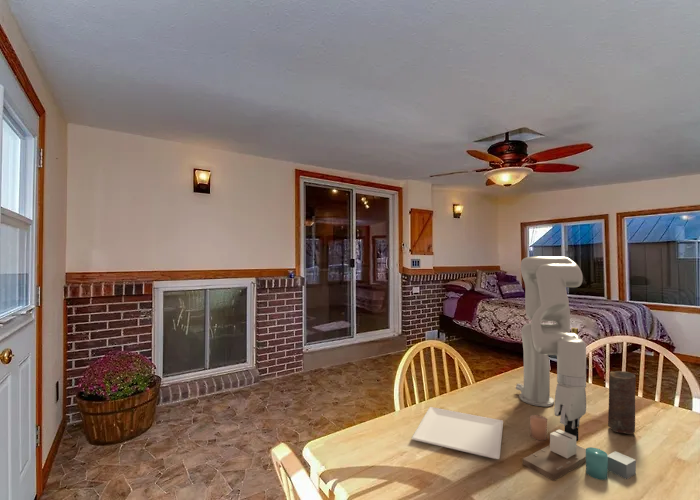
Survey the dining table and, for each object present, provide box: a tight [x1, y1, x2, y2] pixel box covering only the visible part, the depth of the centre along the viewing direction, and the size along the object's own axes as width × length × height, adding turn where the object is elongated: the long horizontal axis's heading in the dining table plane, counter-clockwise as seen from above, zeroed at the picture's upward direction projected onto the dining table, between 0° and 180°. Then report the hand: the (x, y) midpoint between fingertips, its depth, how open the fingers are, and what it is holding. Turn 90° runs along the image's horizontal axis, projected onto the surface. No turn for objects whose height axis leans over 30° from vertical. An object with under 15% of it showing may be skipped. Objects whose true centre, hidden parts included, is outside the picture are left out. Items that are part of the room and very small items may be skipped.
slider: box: [549, 428, 577, 458], centre depth 107 cm, size 5×5×5 cm
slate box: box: [607, 450, 637, 480], centre depth 100 cm, size 5×5×4 cm
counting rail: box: [522, 444, 586, 482], centre depth 106 cm, size 9×21×2 cm, turn 122°
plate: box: [411, 406, 504, 460], centre depth 121 cm, size 26×26×2 cm
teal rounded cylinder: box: [585, 447, 609, 481], centre depth 99 cm, size 5×5×6 cm
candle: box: [607, 370, 637, 435], centre depth 123 cm, size 8×7×20 cm
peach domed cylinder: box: [529, 414, 548, 441], centre depth 119 cm, size 5×5×6 cm
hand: (571, 439), depth 109 cm, fingers closed
